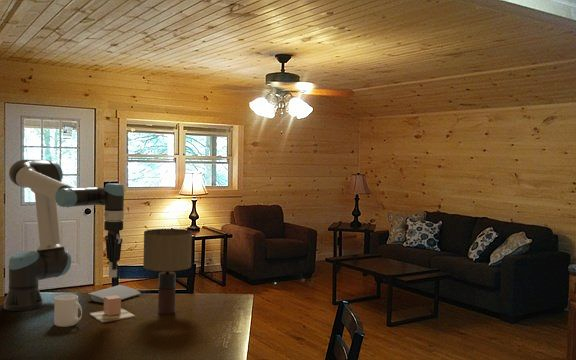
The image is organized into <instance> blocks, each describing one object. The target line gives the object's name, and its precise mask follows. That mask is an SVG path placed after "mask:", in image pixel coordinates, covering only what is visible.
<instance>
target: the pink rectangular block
mask: <svg viewBox="0 0 576 360" xmlns="http://www.w3.org/2000/svg"><path fill="white" fill-rule="evenodd" d="M121 308H122V300H121V297H119V296H117V295H113V296H106V297H104V303H103V311H104V313H105V314H106V315H108V316H111V315H117V314H121Z"/></svg>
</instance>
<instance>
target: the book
mask: <svg viewBox="0 0 576 360" xmlns="http://www.w3.org/2000/svg"><path fill="white" fill-rule="evenodd" d="M141 294H142V293H141V292H140V291H138V290H137V289H135V288H133V287H129V286H127V285H122V284H117V285H114V286H111V287H107V288H104V289H100V290H99V289H98V290H96V291H92V292H89V293H87V295H90V298H91V300H92V301H93V302H97V303H103V304H104V297H106V296H113V295H117V296H119V297H121V301H123V300H127V299H130V298H133V297H136V296H138V295H141Z"/></svg>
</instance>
